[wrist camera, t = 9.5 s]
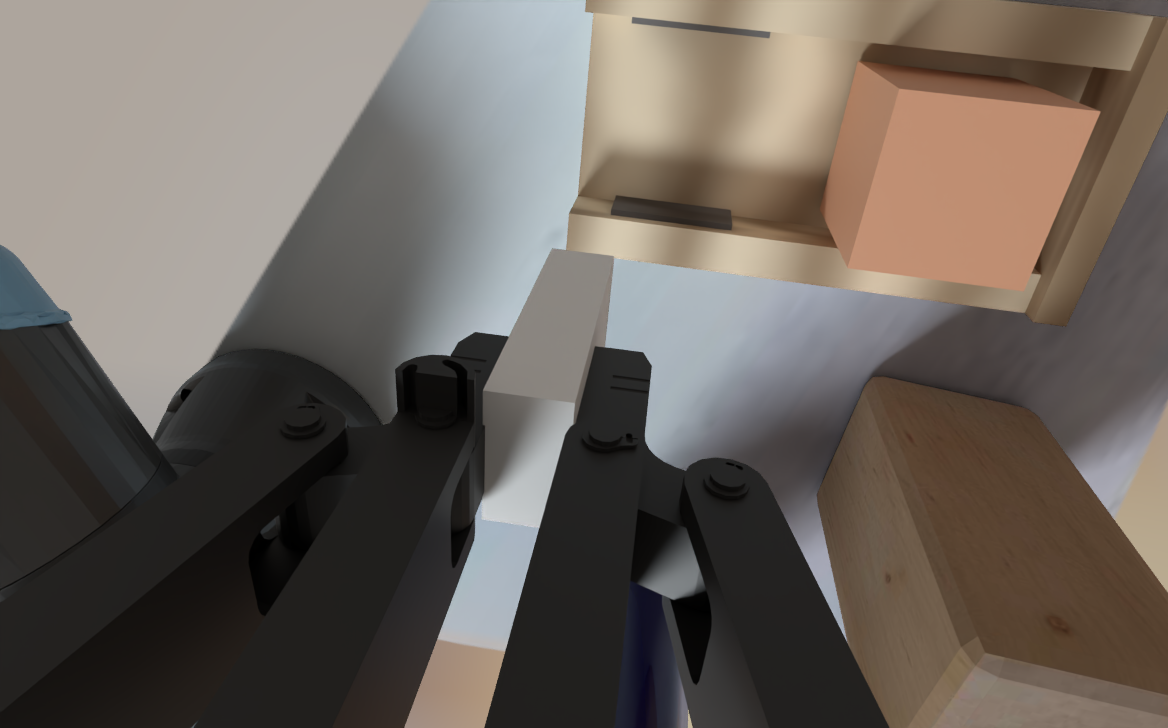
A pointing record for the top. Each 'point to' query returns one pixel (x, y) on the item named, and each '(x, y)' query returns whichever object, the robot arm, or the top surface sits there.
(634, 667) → the bottle
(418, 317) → the top surface
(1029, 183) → the terracotta block
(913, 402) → the wooden block
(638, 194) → the wooden tray
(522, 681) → the robot arm
